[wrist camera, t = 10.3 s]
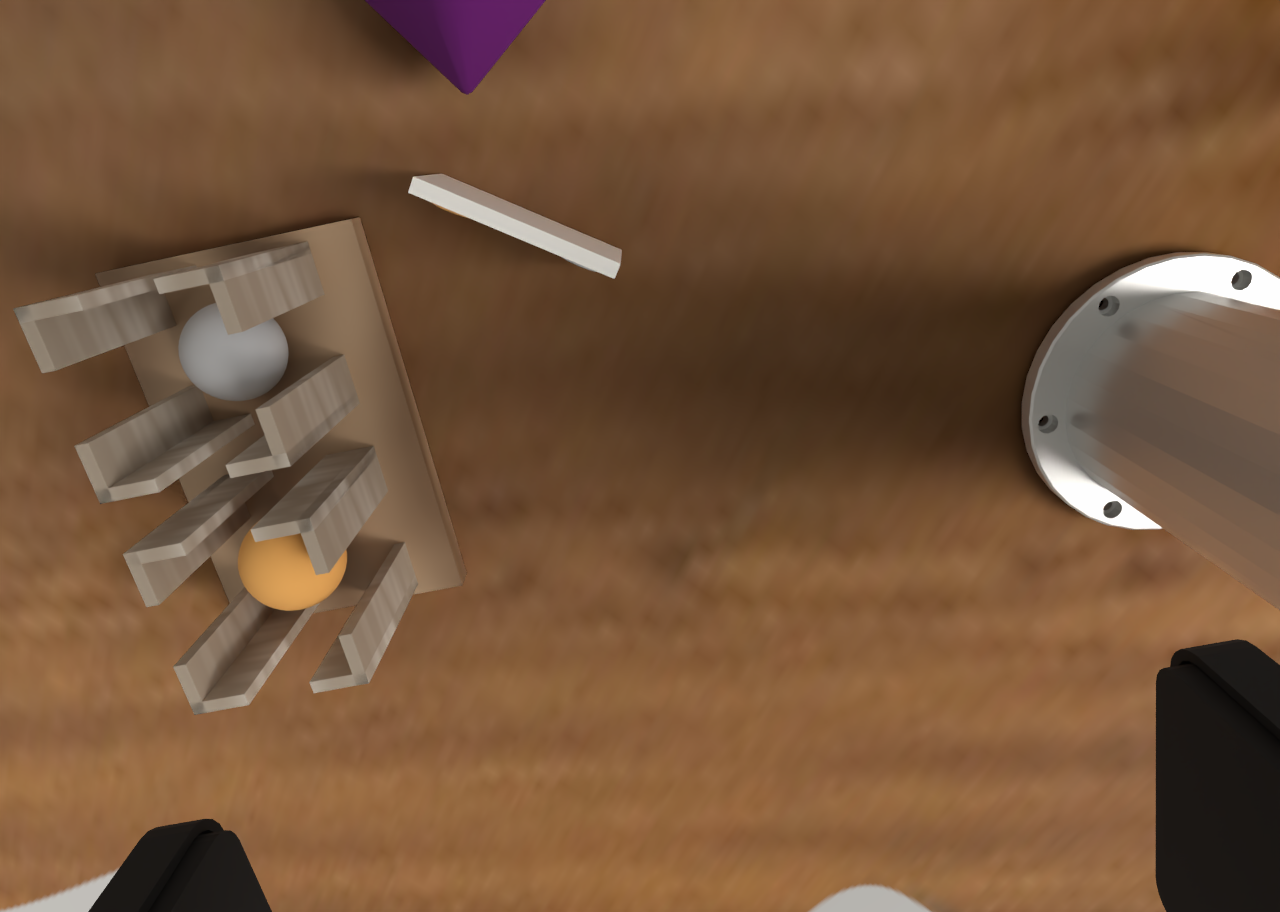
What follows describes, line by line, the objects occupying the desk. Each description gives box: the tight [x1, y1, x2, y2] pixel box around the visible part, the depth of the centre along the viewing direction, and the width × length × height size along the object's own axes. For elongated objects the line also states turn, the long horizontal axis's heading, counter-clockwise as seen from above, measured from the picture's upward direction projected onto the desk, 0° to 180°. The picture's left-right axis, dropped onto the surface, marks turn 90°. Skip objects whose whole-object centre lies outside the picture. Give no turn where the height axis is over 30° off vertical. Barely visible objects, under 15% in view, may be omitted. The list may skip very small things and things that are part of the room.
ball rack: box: [13, 217, 467, 715], centre depth 34 cm, size 11×17×9 cm, turn 11°
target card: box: [408, 174, 622, 279], centre depth 33 cm, size 1×8×5 cm, turn 67°
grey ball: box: [178, 303, 289, 401], centre depth 34 cm, size 4×4×4 cm
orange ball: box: [238, 520, 347, 611], centre depth 34 cm, size 4×4×4 cm
